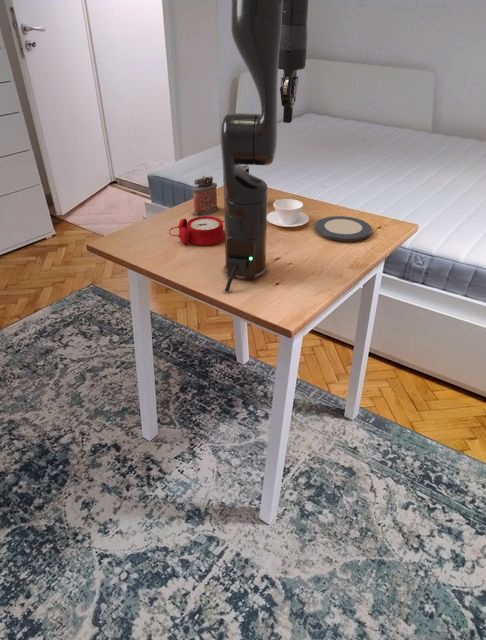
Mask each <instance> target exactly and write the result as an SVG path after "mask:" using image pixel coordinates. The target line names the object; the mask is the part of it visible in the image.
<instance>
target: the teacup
mask: <svg viewBox="0 0 486 640" xmlns="http://www.w3.org/2000/svg"><path fill="white" fill-rule="evenodd" d="M273 208H274V211H271V212H269V213H267V222H268V223H270V224H272V225H275V226H278V227H284V228H285V227H286V228H293V227H301V226H303V225H306V224H307V223H309V221H310V216H309V215H308V214H306V212H302V209H303V208H304V203H303V202H302V201H301V200H298V199H295V198H280V199H276V200H275V201H274V202H273Z"/></svg>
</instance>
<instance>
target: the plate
mask: <svg viewBox="0 0 486 640" xmlns="http://www.w3.org/2000/svg"><path fill="white" fill-rule="evenodd" d="M314 229H315V231H316V233H317V234H318V235H320V236H322V237H324V238H326V239H329V240H334V241H341V242H352V241H353V242H355V241H361V240H364V239H367V238H369V236H371V235H372V230H373V228H372V226H371V225H370V224H369V223H368V222H366V221H365V220H362V219H360V218H356V217H352V216H343V215H335V216H333V215H332V216H327V217H322V218H320V219H318V220H317V221H316V222H315V225H314Z"/></svg>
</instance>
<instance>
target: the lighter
mask: <svg viewBox="0 0 486 640" xmlns="http://www.w3.org/2000/svg"><path fill="white" fill-rule="evenodd" d="M213 181H214V176H212V175H209V176H206V175H203V176H202V177H199V178H195V179H194V185H195V186H193V187H192V188H191V191H192V195H193V215H194V216H196V217H201V216H206V215H208V214H212V213H214V212H216V211H218V210H219V209H218V208H219V206H218V194H217V187H218V183H217V182H213Z"/></svg>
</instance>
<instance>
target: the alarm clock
mask: <svg viewBox="0 0 486 640" xmlns="http://www.w3.org/2000/svg"><path fill="white" fill-rule="evenodd" d="M224 223H225V220H222V219H221V218H219V217H216V216H211V215H210V216H209V215H201V216H196V217H193V218H191V219H189V220H187V219H186V218H181V219H180V221H179V223H178V225H177V226H174V227H171V228H169V230H168V234H169V235H170V236H171V237H178V238H179V240H180V242H181V243H182V244H183V245H188V244H189V243H190V244H193V245H197V246H211V245H216V244H219V243H222V242H223V241H225V229H224ZM173 229H178V234H172V233H171V230H173Z"/></svg>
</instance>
